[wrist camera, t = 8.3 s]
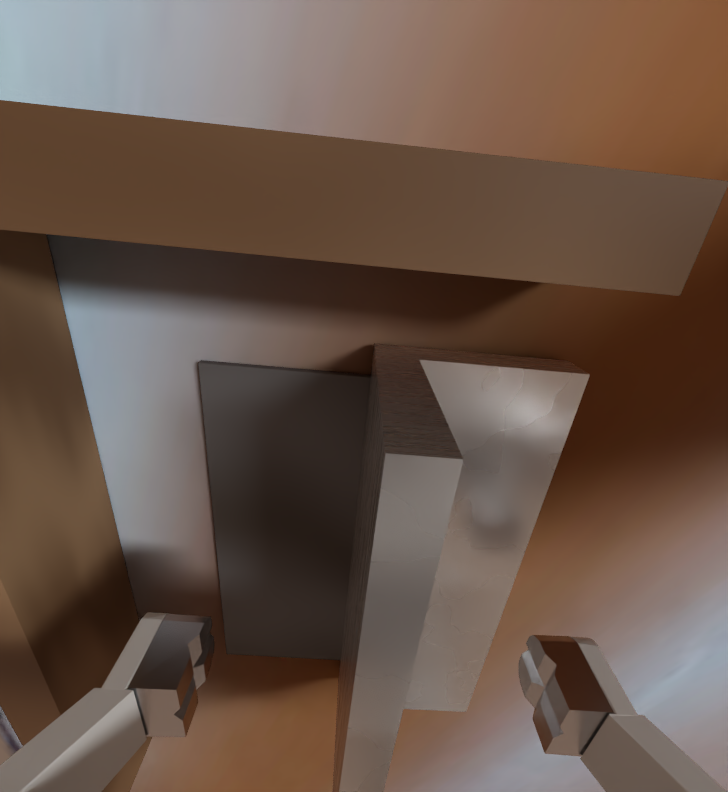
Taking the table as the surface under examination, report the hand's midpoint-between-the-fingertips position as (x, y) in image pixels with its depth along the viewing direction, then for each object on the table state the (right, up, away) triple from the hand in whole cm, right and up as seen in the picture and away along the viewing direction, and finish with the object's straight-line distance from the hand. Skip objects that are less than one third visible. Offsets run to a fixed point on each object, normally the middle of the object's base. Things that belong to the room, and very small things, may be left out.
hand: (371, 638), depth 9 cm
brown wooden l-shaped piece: (-3, +1, +3) cm, 4 cm away
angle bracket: (+2, +1, +3) cm, 3 cm away
